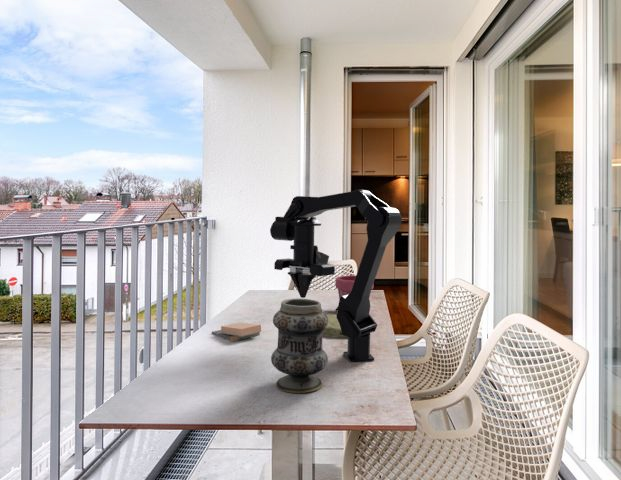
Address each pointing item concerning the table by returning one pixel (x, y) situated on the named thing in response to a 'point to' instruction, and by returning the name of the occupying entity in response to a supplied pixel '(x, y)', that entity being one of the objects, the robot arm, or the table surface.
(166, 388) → the table surface
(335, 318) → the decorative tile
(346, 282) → the plant pot
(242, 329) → the tile
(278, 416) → the table surface
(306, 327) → the apothecary jar
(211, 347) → the table surface
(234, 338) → the stop strip
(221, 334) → the mat
